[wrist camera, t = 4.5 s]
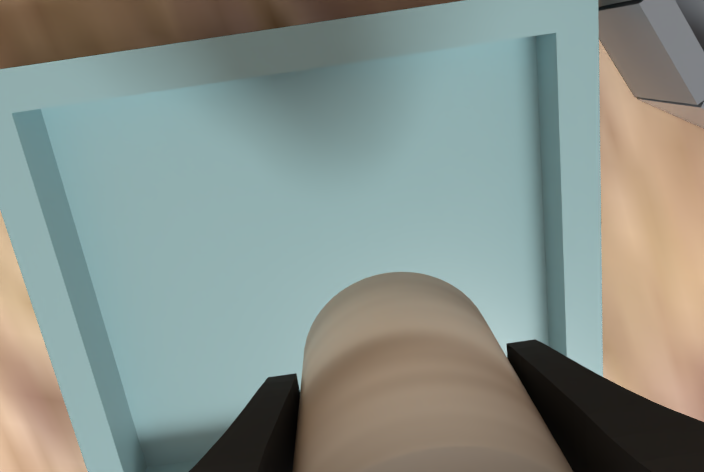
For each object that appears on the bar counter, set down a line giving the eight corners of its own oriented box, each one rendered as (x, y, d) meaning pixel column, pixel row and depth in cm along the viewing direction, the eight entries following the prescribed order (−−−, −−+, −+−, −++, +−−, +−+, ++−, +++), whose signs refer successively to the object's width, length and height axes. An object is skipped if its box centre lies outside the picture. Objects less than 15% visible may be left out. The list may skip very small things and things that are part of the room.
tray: (575, 420, 23) (603, 462, 21) (130, 482, 23) (107, 531, 21) (563, -10, 18) (598, -20, 16) (4, 73, 18) (-45, 75, 16)
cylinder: (495, 430, 14) (607, 686, 8) (316, 449, 14) (305, 719, 8) (488, 261, 13) (617, 427, 7) (291, 283, 13) (257, 467, 7)
